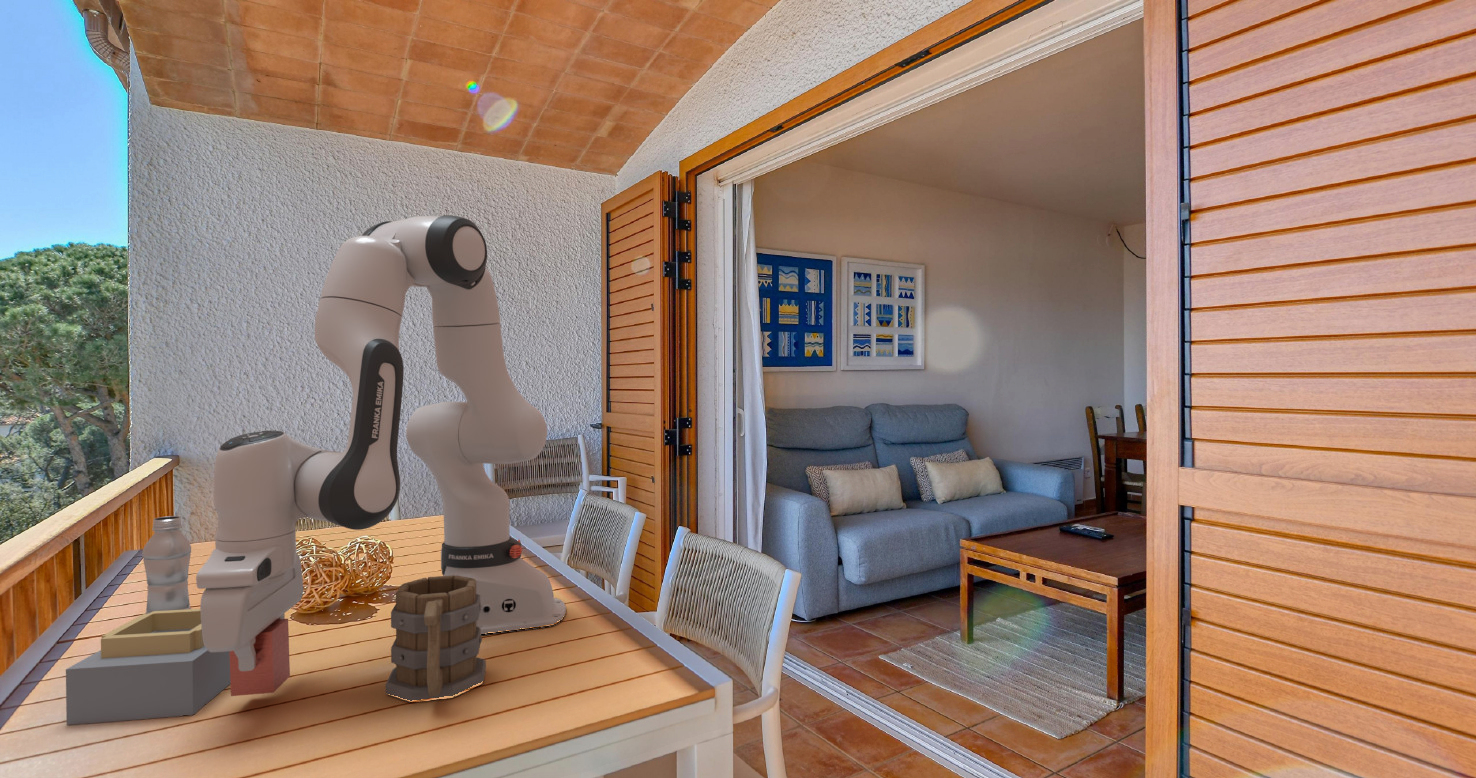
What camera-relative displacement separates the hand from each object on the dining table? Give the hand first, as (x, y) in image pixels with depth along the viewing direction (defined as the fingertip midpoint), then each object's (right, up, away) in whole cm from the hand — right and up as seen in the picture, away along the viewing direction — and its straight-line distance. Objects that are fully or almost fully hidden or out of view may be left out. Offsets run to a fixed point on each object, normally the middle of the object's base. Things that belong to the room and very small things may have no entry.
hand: (260, 658), depth 96 cm
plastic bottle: (-32, -6, +25) cm, 41 cm away
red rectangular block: (0, -4, 0) cm, 4 cm away
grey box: (-15, -6, +4) cm, 17 cm away
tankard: (+22, -6, +4) cm, 23 cm away
